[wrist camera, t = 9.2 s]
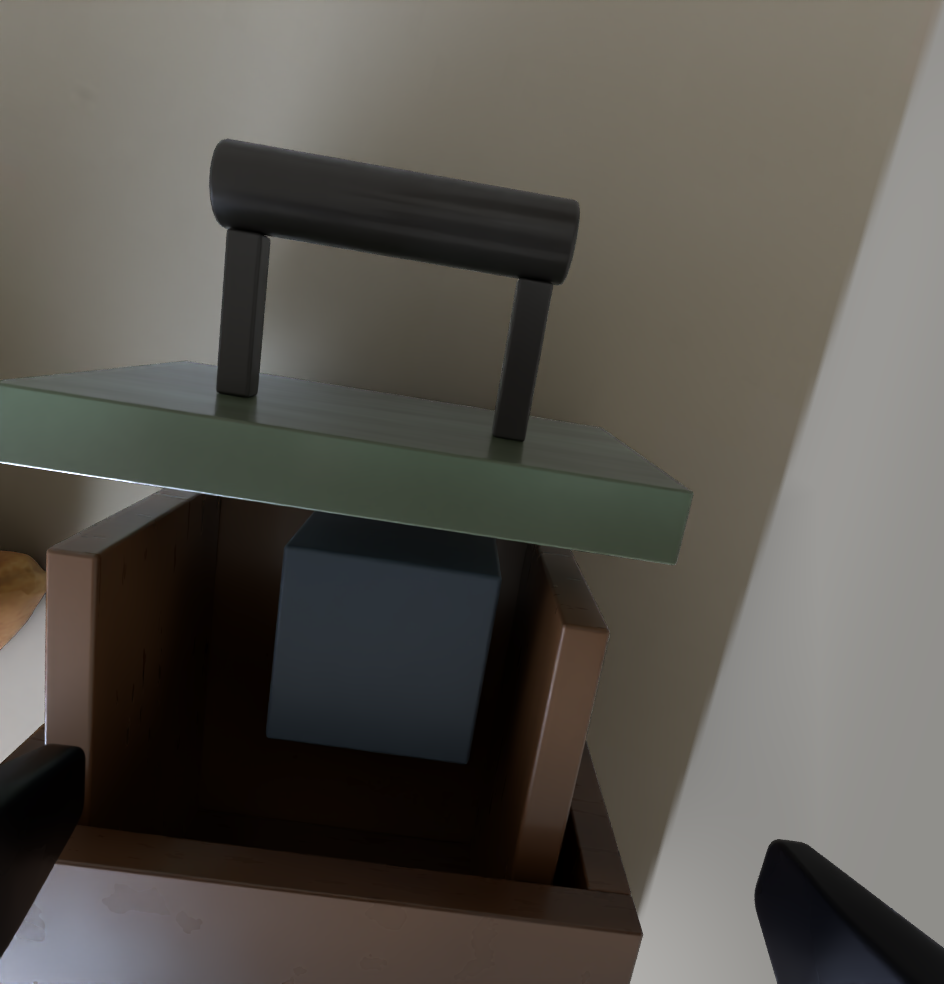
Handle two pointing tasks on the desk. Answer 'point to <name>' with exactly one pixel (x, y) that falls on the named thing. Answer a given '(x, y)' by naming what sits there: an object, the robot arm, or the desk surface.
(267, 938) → the cabinet
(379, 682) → the block
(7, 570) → the stuffed squirrel
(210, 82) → the desk surface
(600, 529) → the drawer
